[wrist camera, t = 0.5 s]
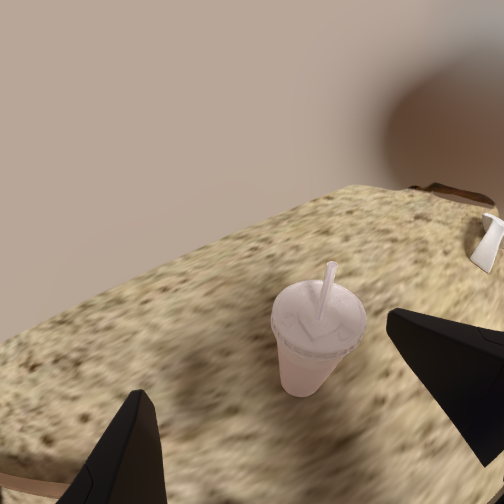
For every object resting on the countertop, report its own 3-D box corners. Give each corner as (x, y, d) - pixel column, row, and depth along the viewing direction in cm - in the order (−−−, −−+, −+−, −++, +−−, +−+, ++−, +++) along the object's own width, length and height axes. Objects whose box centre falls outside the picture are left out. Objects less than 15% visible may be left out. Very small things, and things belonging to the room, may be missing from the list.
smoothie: (255, 398, 21) (257, 282, 13) (278, 343, 26) (291, 218, 18) (325, 418, 20) (389, 314, 11) (340, 359, 24) (387, 240, 16)
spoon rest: (482, 221, 48) (491, 195, 44) (517, 246, 40) (528, 220, 36) (454, 252, 39) (468, 216, 34) (502, 288, 31) (521, 253, 26)
